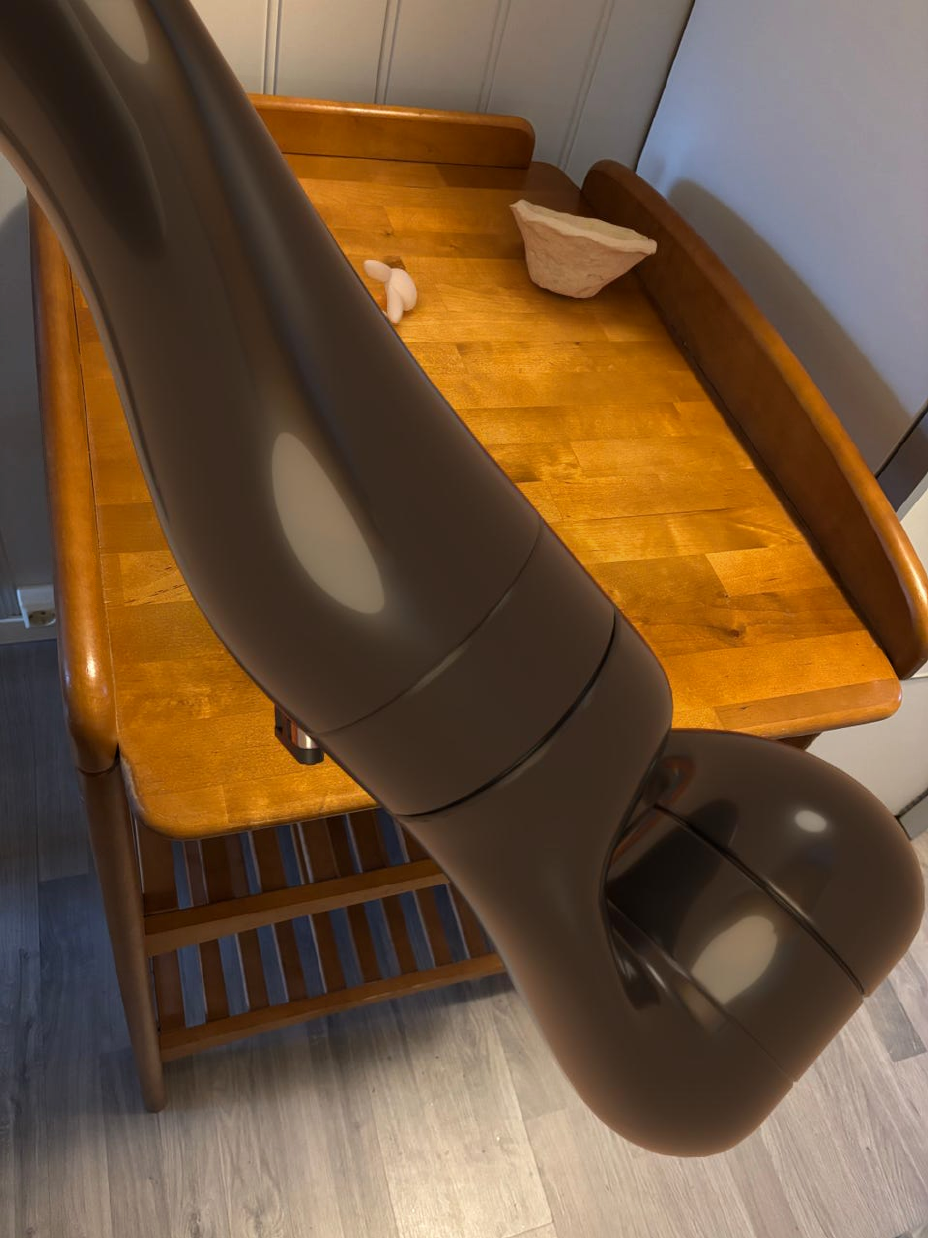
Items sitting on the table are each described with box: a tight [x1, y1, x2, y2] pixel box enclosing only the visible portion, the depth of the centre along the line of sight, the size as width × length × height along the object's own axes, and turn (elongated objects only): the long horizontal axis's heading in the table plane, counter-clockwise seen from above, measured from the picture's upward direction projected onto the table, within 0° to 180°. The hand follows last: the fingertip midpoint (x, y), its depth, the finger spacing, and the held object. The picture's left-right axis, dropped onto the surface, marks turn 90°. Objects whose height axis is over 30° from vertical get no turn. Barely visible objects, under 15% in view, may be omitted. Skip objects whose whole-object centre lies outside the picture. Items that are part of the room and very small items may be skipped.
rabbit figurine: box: [363, 259, 418, 324], centre depth 92 cm, size 6×4×8 cm
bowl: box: [509, 199, 658, 299], centre depth 99 cm, size 15×14×10 cm
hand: (386, 678), depth 56 cm, fingers open, 8 cm apart
